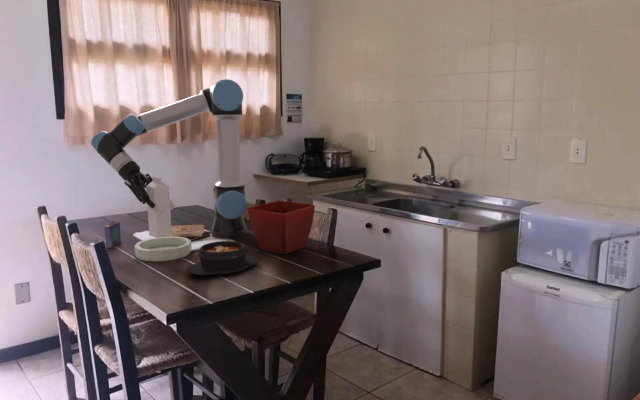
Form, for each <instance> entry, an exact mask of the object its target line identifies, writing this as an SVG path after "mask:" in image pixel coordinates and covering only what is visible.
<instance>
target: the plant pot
mask: <svg viewBox="0 0 640 400" xmlns="http://www.w3.org/2000/svg"><path fill="white" fill-rule="evenodd" d="M246 209H247V213H248V217H249V222H250V225H251V229H252V231H253V235H254V236H255V240H256V242H257V245H258V246H259V249H260V250H261V251H267V252H270V253H274V254H275V253H276V254H281V255H287V254H290V253H292V252H295V251H298V250H301V249H303V248H305V247H306V245H307V242H308V239H309V236H310V233H311V229H312V225H313V220H314V217H315V216H314V215H315V209H316V205H315V204H309V203H304V202H303V203H302V202H295V201H294V202H293V201H288V200H276V201H270V202H266V203H262V204H258V205H254V206H250V207H246Z"/></svg>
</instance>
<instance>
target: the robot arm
mask: <svg viewBox="0 0 640 400" xmlns="http://www.w3.org/2000/svg"><path fill="white" fill-rule="evenodd" d="M243 100H244V91H243V89H242V87H241V86H240V85H239V83H237V82H236V81H234V80H232V79H227V78H226V79H220V80H218V81H216V82H215V84H213V85H211V86H209V87H207V88H204V89H201V90H200V92H199V94H196V95H193V96H190V97H187V98H184V99H181V100H177V101H175V102H172V103H169V104H167V105H165V106H161V107H158V108H155V109H153V110H150V111H147V112H143V113H140V114H139V115H135V114H134V113H130V114H128V115H127V116H125V117H124V118H123V119H122V120H121V121H120V122H119V123H118V124H117V125H116V126H115V127H114V128H113V129H112V130H111V131H109V132H107V131H106V130H103V131H100V132H97V134H95V135H94V136H92V137H93V138H91V141H90V143H91V146H92V148H94V150H95V151H96V152H97V154H99V156H100V157H101V158H103V159H104V160H105V162H107V164H108V165H109V166H110V167H111V168H112V169H113V170H114V171H115V172H116V173H117V174H118V175H119V176H120V177H121V178H122V180H123V181H124V185H125V186H127V187H128V188H129V191H131V192H132V194H133V195H134V196H135V197H136V199H137V200H138V201H139V202H140V203H141V204H143V205H145V204H146V205H147V204H148V205H149V206H150V207H151V208H152V209H153V210H154V211H155V213H156V214H157V215H158V216H159V215H160V214H161V213H162V212H163V211H164V210H163V209H162V208H161V207H160V206H159V205H158V204H157V202H156V201H155V200H154V199H153V198H150V197H149V195H148V193H147V192H146V186H147V185H148V184H150V183H151V182H152V181H153V177H152V176H151V175H150V174H149V173H146V174H144V173H142V172H141V171H140V170H141V166H140V165H139V164H138V163H137V162H136V161H135V160H134V159H133V158H132V157H131V156H130V155H129V153H127V152H126V150H124V148H125V147H127V145H128V144H130V143H131V142H132V141H133V140H134V139H135V138H136V137H139V136H142V135H145V134H147V133H150V132H153V131H156V130H159V129H162V128H165V127H167V126H170V125H173V124H175V123H178V122H181V121H184V120H187V119H189V118H192V117H196V116H198V115H201V114H203V113H209V114H211V115H212V117H214V119H215V120H216V122H215V123H216V140H217V141H216V142H217V143H216V144H217V165H218V167H217V169H218V181H216V182H214V183H213V187H212V189H213V203H214V204H213V205H214V219H213V223H212V227H211V230H210V231H211V236H212V237H213V238H217V239H235V238H241V237H243V236H246V235H247V234H248V228H247V225H246V223H245V220H244V216H243V214H244V213H245V212H246V209H247V205H248V202H247V199H246V190H245V189H246V188H245V187H246V185H245V182H243V181H242V179H241V178H242V177H241V154H240V152H241V151H240V150H241V149H240V125H239V124H240V122H239V119H240V118H241V117H242V116H243ZM174 208H176V204H175V203H174V202H173V201H172V200H171V199H170V212H171V211H172V210H174Z"/></svg>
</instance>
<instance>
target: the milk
mask: <svg viewBox="0 0 640 400" xmlns="http://www.w3.org/2000/svg"><path fill="white" fill-rule="evenodd" d="M152 179H153V181H152V182H151V183H150V184H148V185H147V186H146V188H145V190H146V192H147V193H148V195H149V197H150V198H153V199H154V200H155V201H156V202H157V204H158V205H159V206H160V207H161V208H162V209H163V210H164V211H163V212H162V213H161V214H160V215H159V216H158V215H157V214H156V213H155V211H154V210H153V209H152V208H151V207H150V206H149V205H148V204H147V203H146V205H147V217H148V218H147V219H148V220H147V221H148V222H147V223H148V233H149V236H151V237H152V238H160V237H171V236H172V221H171V219H172V218H171V215H172V214H171V211H170V200H171V199H170V186H169V185H167V184H166V183H164V182H162V178H161V177H157V176H152Z"/></svg>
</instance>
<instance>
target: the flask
mask: <svg viewBox="0 0 640 400" xmlns="http://www.w3.org/2000/svg"><path fill="white" fill-rule="evenodd" d="M108 221H109V222H108V224H106V225H105V226H104V233H105V244H106V245H105V247H107V249H111V248H114V247H117V245H120V244H122V240H121V239H122V237H121V223H120V221H119V220H118V221H117V220H115V221H114V219H108Z"/></svg>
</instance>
